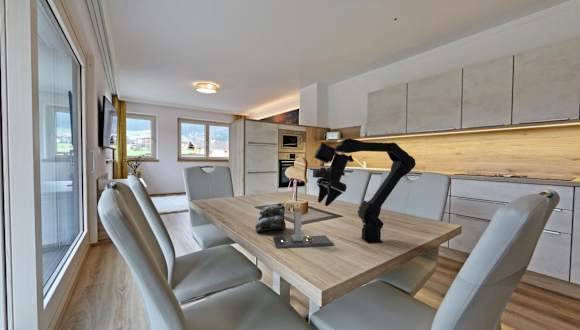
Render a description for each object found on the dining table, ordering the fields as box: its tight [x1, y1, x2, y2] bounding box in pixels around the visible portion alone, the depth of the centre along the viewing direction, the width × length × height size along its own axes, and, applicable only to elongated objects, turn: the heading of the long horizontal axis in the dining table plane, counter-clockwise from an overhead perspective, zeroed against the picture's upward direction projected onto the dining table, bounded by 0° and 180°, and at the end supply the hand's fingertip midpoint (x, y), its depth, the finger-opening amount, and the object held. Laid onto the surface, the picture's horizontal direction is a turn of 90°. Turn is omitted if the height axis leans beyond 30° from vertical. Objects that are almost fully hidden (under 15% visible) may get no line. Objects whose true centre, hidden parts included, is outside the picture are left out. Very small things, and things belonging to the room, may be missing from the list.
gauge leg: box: [290, 207, 304, 242], centre depth 92 cm, size 4×4×12 cm
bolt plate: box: [272, 234, 334, 249], centre depth 93 cm, size 22×9×2 cm, turn 100°
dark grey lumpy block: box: [255, 203, 287, 233], centre depth 108 cm, size 15×12×14 cm
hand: (322, 203), depth 93 cm, fingers open, 9 cm apart
